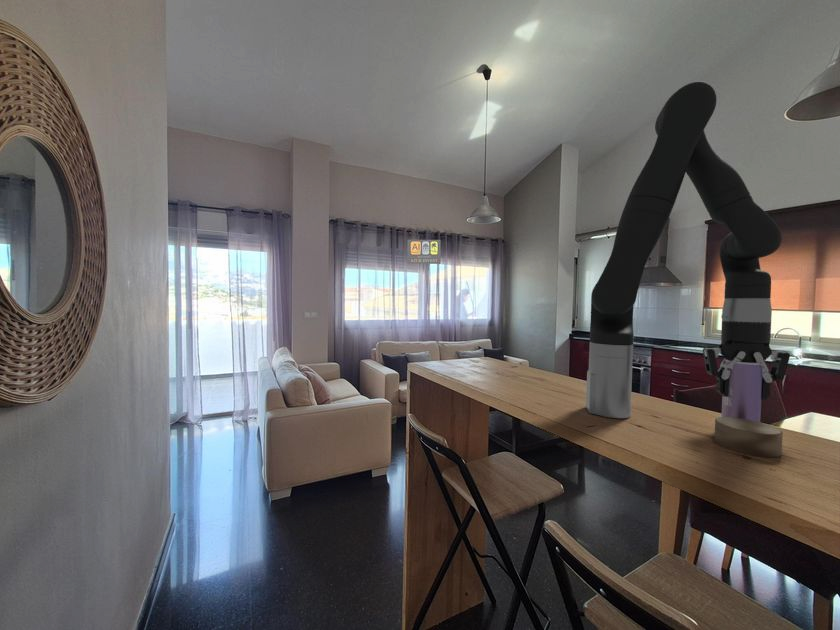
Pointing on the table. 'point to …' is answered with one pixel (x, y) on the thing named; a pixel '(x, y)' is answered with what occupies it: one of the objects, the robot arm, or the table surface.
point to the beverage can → (743, 391)
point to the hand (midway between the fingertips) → (742, 397)
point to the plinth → (748, 436)
